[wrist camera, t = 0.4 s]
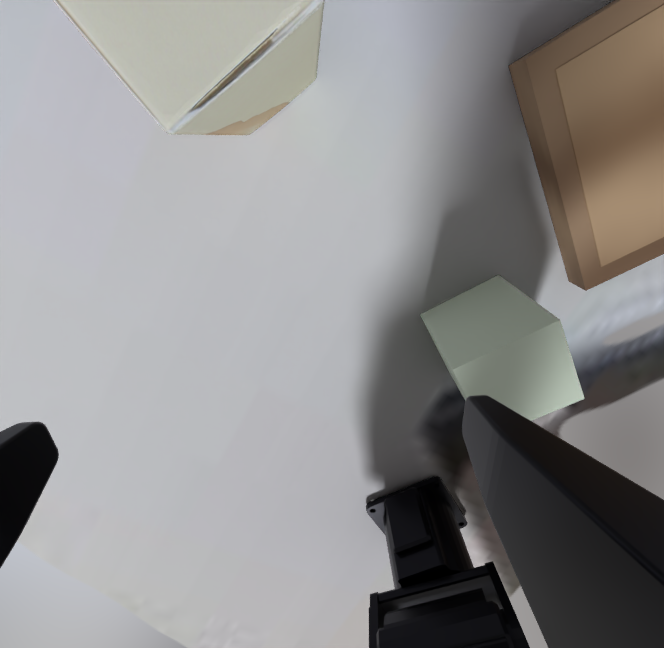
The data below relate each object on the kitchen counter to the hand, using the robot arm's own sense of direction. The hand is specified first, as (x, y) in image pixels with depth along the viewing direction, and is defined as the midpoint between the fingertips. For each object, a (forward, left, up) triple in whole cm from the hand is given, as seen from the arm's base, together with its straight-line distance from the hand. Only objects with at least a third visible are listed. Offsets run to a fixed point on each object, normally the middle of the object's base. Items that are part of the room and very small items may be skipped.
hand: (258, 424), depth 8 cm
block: (-10, -7, -14) cm, 18 cm away
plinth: (-4, -19, -14) cm, 24 cm away
